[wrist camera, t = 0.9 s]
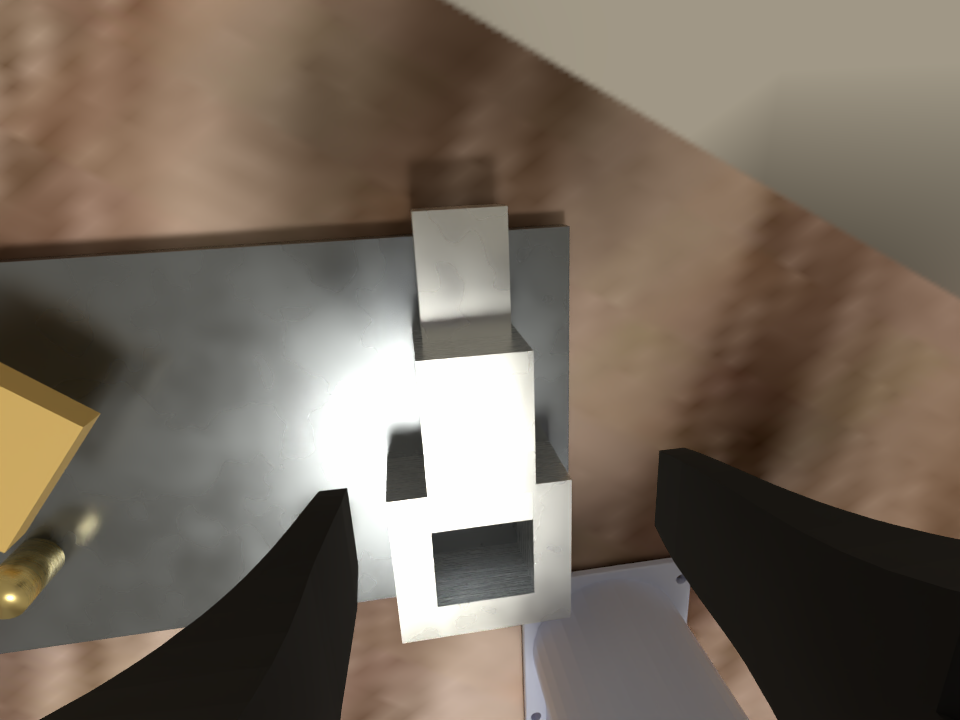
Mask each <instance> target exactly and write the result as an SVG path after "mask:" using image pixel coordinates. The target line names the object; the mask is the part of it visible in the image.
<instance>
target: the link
mask: <svg viewBox="0 0 960 720" xmlns="http://www.w3.org/2000/svg"><path fill="white" fill-rule="evenodd" d="M410 214H411V226H412V237H413V249H414V260H415V272H416V284H417V295H418V307H419V319H420V330H415V331H412V336H413V347H414V358H415V369H416V380H417V391H418V402H419V413H420V424H421V435H422V446H423V455H420V456H411V457H402V458H394V459H387V473H386V510H387V518H388V526H389V535H390V543H391V551H392V560H393V568H394V576H395V585H396V593H397V602H398V610H399V618H400V627H401V635H402V643H408V642H414V641H421V640H427V639H434V638H440V637H447V636H453V635H460V634H466V633H472V632H479V631H485V630H492V629H498V628H505V627H511V626H518V625H524V624H531V623H537V622H544V621H550V620H557V619H563V618H569V617H571V528H572V479H571V478H570V476H569V474H568V472H567V471H566V469H565V467H564V466H563V464H562V462H561V461H560V459H559V457H558V455H557V454H556V452H555V450H554V449H553V447H552V445H551V443H550V442H549V441H544V442H535V406H534V351H533V349H532V348H531V347H530V346H529V344H528V343H527V342H526V341H525V339H524V338H523V337H522V336H521V334H520V333H519V332H518V331H517V329H516V328H515V327H514V326H513V325H512V323H511V302H510V269H509V236H508V206H505V205H501V204H486V205H469V206H451V207H434V208H416V209H410ZM509 522H517V541H518V542H517V543H510V544H502V545H495V546H487V547H480V548H473V549H465V550H458V551H451V552H443V553H436V554H433V550H432V539H431V533H433V532H441V531H448V530H456V529H464V528H471V527H479V526H487V525H494V524H502V523H509Z"/></svg>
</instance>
